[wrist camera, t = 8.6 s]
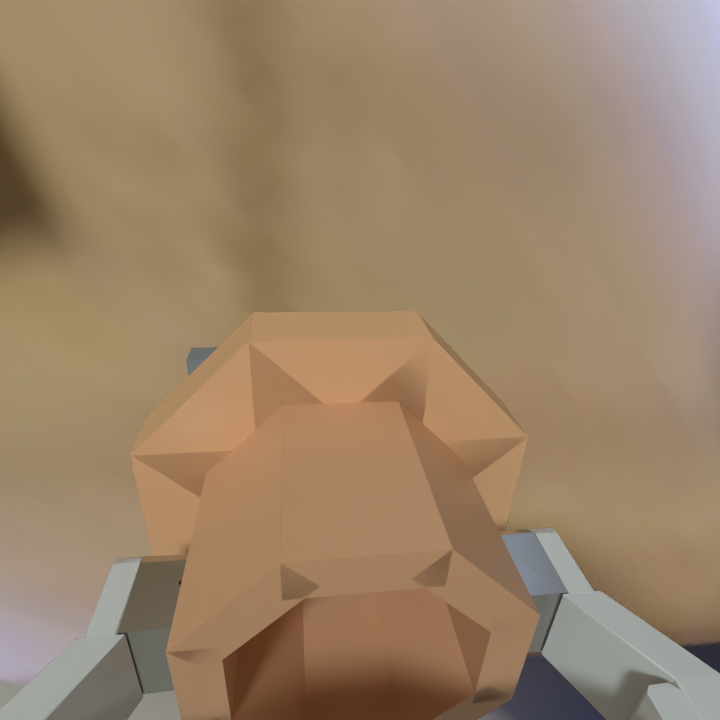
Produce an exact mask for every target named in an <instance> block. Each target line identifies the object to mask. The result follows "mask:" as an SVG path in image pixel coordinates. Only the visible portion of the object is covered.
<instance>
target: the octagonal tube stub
mask: <svg viewBox="0 0 720 720" xmlns="http://www.w3.org/2000/svg"><path fill="white" fill-rule="evenodd" d="M527 440H528V436H527V435H526V433H525V432H524V430H523V429H522V428H521V426H520V425H519V424H518V422H517V421H516V419H515V418H514V417H513V415H512V414H511V412H510V411H509V410H508V408H507V407H506V406H505V404H504V403H503V402H502V401H501V400H500V399H499V398H498V396H497V395H496V394H495V393H494V392H493V391H492V390H491V389H490V388H489V387H488V386H487V385H486V384H485V383H484V382H483V381H482V380H481V379H480V377H479V376H478V375H477V374H476V373H475V372H474V371H473V370H472V369H471V368H470V367H469V366H468V365H467V364H466V363H465V362H464V361H463V360H462V359H461V357H460V356H459V355H458V354H457V353H456V352H455V351H454V350H453V349H452V348H451V347H450V346H449V345H448V344H447V343H446V342H445V341H444V340H443V339H442V337H441V336H440V335H439V334H438V333H437V332H436V331H435V330H434V329H433V328H432V327H431V326H430V325H429V324H428V323H427V322H426V321H425V320H424V318H423V317H422V316H421V315H420V314H419V313H418V312H417V311H392V312H273V313H253V314H252V315H251V316H250V317H249V318H248V319H247V320H245V321H244V322H243V323H242V324H241V325H240V326H239V327H238V328H237V329H236V330H235V331H234V332H233V333H232V334H231V335H230V336H229V337H228V338H227V339H226V340H225V341H224V342H223V343H222V344H221V345H220V346H219V347H218V348H217V349H216V350H215V351H214V352H213V353H212V354H211V355H210V356H209V357H208V358H207V359H206V360H205V361H204V362H203V363H201V364H200V365H199V366H198V367H197V368H196V369H195V370H194V371H193V372H192V373H191V374H190V375H189V376H188V377H187V378H186V379H185V380H184V381H183V382H182V383H181V384H180V385H179V386H178V387H177V388H176V389H175V390H174V391H173V392H172V393H171V394H170V395H169V396H168V397H167V398H166V399H165V400H164V401H163V402H162V403H161V404H160V405H159V406H158V407H156V408H155V409H154V410H153V411H152V412H151V413H150V414H149V415H148V417H147V419H146V422H145V424H144V426H143V428H142V430H141V433H140V435H139V437H138V439H137V441H136V444H135V446H134V448H133V450H132V452H131V455H130V457H131V461H132V466H133V470H134V475H135V479H136V484H137V488H138V493H139V497H140V502H141V506H142V511H143V515H144V519H145V524H146V528H147V533H148V537H149V542H150V546H151V551H152V555H153V556H165V555H187V554H188V556H187V560H186V564H185V569H184V573H183V578H182V582H181V587H180V591H179V595H178V600H177V604H176V609H175V613H174V618H173V622H172V626H171V631H170V635H169V640H168V644H167V648H166V657H167V661H168V665H169V669H170V673H171V678H172V682H173V686H174V690H175V694H176V699H177V703H178V707H179V711H180V715H181V720H477V719H479V718H480V717H482V716H484V715H486V714H487V713H489V712H490V711H492V710H494V709H496V708H497V707H499V706H500V705H502V704H504V703H506V702H507V701H509V700H511V699H512V698H513V695H514V692H515V688H516V686H517V683H518V680H519V677H520V674H521V671H522V668H523V665H524V662H525V659H526V656H527V653H528V650H529V647H530V644H531V641H532V638H533V635H534V632H535V629H536V626H537V624H538V621H539V618H540V614H539V612H538V610H537V608H536V606H535V604H534V602H533V600H532V598H531V596H530V594H529V592H528V590H527V588H526V586H525V584H524V582H523V580H522V578H521V575H520V573H519V571H518V569H517V567H516V565H515V563H514V561H513V559H512V557H511V555H510V553H509V551H508V549H507V547H506V545H505V543H504V541H503V539H502V537H501V535H500V533H499V532H500V531H505V527H506V523H507V519H508V515H509V511H510V507H511V503H512V500H513V496H514V492H515V488H516V484H517V480H518V476H519V472H520V468H521V464H522V460H523V456H524V452H525V448H526V444H527Z"/></svg>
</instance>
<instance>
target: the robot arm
mask: <svg viewBox="0 0 720 720" xmlns="http://www.w3.org/2000/svg"><path fill="white" fill-rule="evenodd" d="M499 533H500V535H501V537H502V539H503V541H504V543H505V545H506V547H507V549H508V551H509V553H510V555H511V557H512V559H513V561H514V563H515V565H516V567H517V569H518V571H519V573H520V575H521V578H522V580H523V582H524V584H525V586H526V588H527V590H528V592H529V594H530V596H531V598H532V600H533V602H534V604H535V606H536V608H537V610H538V612H539V614H540V618H539V621H538V624H537V626H536V629H535V632H534V635H533V638H532V641H531V644H530V647H529V650H528V653H530V652H542V655H543V656H544V657H545V658H546V659H547V660H548V661H549V662H550V663H551V664H552V665H553V666H554V667H555V668H556V669H557V670H558V671H559V672H560V673H561V674H562V675H563V676H564V677H565V678H566V679H567V680H568V681H569V682H570V683H571V684H572V685H573V686H574V687H575V688H576V689H577V690H578V691H579V692H580V693H581V694H582V695H583V696H584V697H585V698H586V699H587V700H588V701H589V702H590V703H591V704H592V705H593V706H594V707H595V708H596V709H597V710H598V711H599V712H600V713H601V714H602V716H603V717H604V718H606V720H720V673H718V672H717V671H715V670H714V669H712V668H711V667H710V666H708V665H707V664H705V663H704V662H702V661H701V660H699V659H698V658H697V657H695V656H694V655H692V654H691V653H689V652H688V651H687V650H685V649H684V648H682V647H681V646H679V645H678V644H676V643H675V642H674V641H672V640H671V639H669V638H668V637H666V636H665V635H663V634H662V633H661V632H659V631H658V630H656V629H655V628H653V627H652V626H650V625H649V624H648V623H646V622H645V621H643V620H642V619H640V618H639V617H637V616H636V615H635V614H633V613H632V612H630V611H629V610H627V609H626V608H624V607H623V606H622V605H620V604H619V603H617V602H616V601H614V600H613V599H612V598H610V597H609V596H607V595H606V594H604V593H603V592H601V591H594V590H593V589H592V587H591V586H590V584H589V583H588V581H587V579H586V578H585V576H584V575H583V573H582V572H581V570H580V569H579V567H578V565H577V564H576V562H575V561H574V559H573V558H572V556H571V554H570V553H569V551H568V550H567V548H566V547H565V545H564V543H563V542H562V540H561V539H560V537H559V536H558V534H557V532H556V531H555V530H553V529H552V528H542V529H529V530H527V529H524V530H512V531H500V532H499ZM187 556H188V554H187V555H165V556H145V557H129V558H118V559H117V560H116V561H115V563H114V564H113V565H112V567H111V570H110V572H109V575H108V577H107V580H106V583H105V585H104V588H103V590H102V593H101V595H100V598H99V601H98V603H97V606H96V608H95V611H94V613H93V616H92V618H91V621H90V624H89V626H88V629H87V631H86V634H85V636H84V638H76V639H75V640H74V641H72V642H71V643H70V644H69V645H68V646H67V647H66V648H65V649H64V650H63V651H62V652H61V653H60V654H59V655H58V656H57V657H56V658H54V659H53V660H52V661H51V662H50V663H49V664H48V665H47V666H46V667H45V668H44V669H43V670H42V671H41V672H40V673H39V674H38V675H37V676H35V677H34V678H33V679H32V680H31V681H30V682H29V683H28V684H27V685H26V686H25V687H24V688H23V689H22V690H21V691H20V692H19V693H18V694H16V695H15V696H14V697H13V698H12V699H11V700H10V701H9V702H8V703H7V704H6V705H5V706H4V707H3V708H2V709H1V710H0V720H127V719H128V718H129V716H130V715H131V714H132V712H133V711H134V709H135V708H136V707H137V705H138V704H139V703H140V701H141V700H142V698H143V695H142V694H149V693H157V692H163V691H171V690H174V686H173V682H172V678H171V673H170V669H169V665H168V661H167V657H166V648H167V644H168V640H169V635H170V631H171V626H172V622H173V618H174V613H175V609H176V604H177V600H178V595H179V591H180V587H181V582H182V578H183V573H184V569H185V564H186V560H187Z"/></svg>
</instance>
